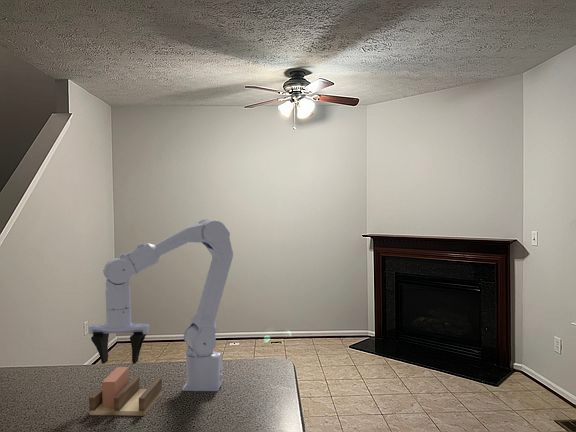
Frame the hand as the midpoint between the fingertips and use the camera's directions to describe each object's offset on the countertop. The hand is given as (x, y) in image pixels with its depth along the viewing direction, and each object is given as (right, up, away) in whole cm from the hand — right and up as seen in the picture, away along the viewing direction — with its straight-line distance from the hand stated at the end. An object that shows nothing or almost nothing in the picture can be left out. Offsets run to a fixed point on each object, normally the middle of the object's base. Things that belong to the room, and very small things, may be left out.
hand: (120, 362), depth 120 cm
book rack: (+3, -9, -2) cm, 10 cm away
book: (0, -8, -1) cm, 9 cm away
